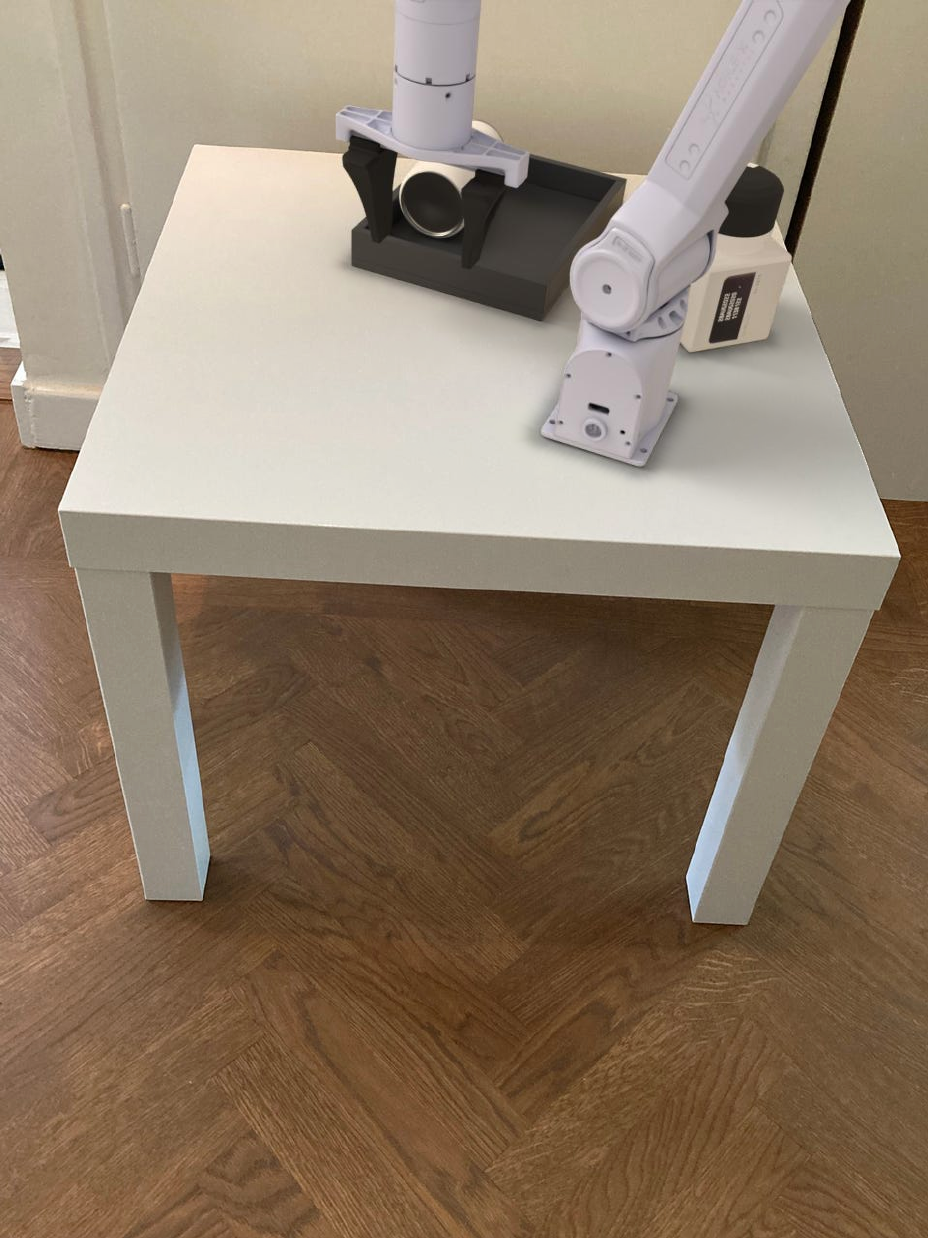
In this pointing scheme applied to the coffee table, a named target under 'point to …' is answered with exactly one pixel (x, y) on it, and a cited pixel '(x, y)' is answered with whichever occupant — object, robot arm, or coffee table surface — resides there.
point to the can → (438, 193)
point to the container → (740, 269)
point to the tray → (505, 241)
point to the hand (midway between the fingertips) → (425, 249)
